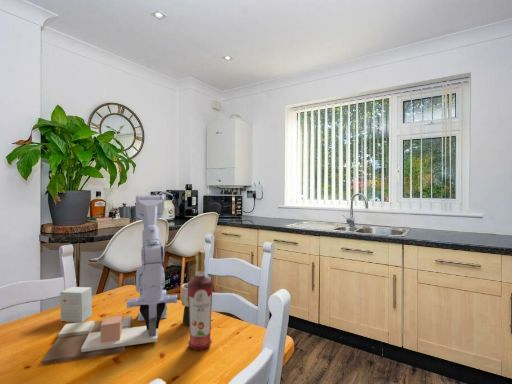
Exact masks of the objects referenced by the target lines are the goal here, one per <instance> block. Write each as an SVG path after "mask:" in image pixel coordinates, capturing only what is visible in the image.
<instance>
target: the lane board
mask: <svg viewBox="0 0 512 384" xmlns="http://www.w3.org/2000/svg"><path fill="white" fill-rule="evenodd" d="M102 321H103V320H99V321H95V320H89V321H83V322H70V323H66V324H64V325H63V327H62V329H60V331H59V333H58V334H57V339H56V340H55V341H54V343H52V344H53V345H51V347H50V349H49V350H48V351H47V353H46V354H45V356H44V357H43V359H42V360H41V365H42V364H43V365H48V364H47V363H50V364H56V363H55V362H57V363H61V362H62V361H63V362H69V361H76V360H83V359H88V358H89V359H90V358H96V357H101V356H107V355H115V354H123V353H125V352H126V351H125V350H126V347H127V346H121V347H114V348H107V349H100V350H93V351H86V352H81V348H82V346H83V344H84V342H85V340H86V338H87V336H88V334H89V333H94V332H101V323H102ZM132 322H133V316H131V315H130V316H122V329H125V328H132V327H131V326H132Z"/></svg>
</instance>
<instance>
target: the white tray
mask: <svg viewBox="0 0 512 384" xmlns="http://www.w3.org/2000/svg"><path fill="white" fill-rule="evenodd" d="M156 320H157V319H156V314H153V315H150V317H149V330H147V327H146V325H141V326H134V327H130V328H125V329H122V334H121V337H120V340H115V341H108V342H101V332H94V333H89V334H88V336H87V338H86V340H85V342H84V344H83V346H82V348H81V352H86V351H93V350H100V349H107V348H114V347H121V346H126V347H127V346H133V345H140V344H147V343H155V342H158V338H159V328H158V329H156Z"/></svg>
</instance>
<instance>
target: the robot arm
mask: <svg viewBox="0 0 512 384" xmlns="http://www.w3.org/2000/svg"><path fill="white" fill-rule="evenodd" d="M164 209H165V197H164V195H163V194H159V195H157V194H155V195H150V194H149V195H144V194H143V195H139V194H137V195H136V196H135V211H136V213H135V215H136V218H137V219H139V220H141V222H142V225H143V229H142V230H141V231H142V232H141V235H142V236H141V237H142V240H141V241H142V248H141V249H140V250H141V252H140V255H141V257H140V260H141V261H140V263H141V265H140V266H139V268H137V269H136V272H135V273H136V275H135V292H137V293H139V297H137V298H136V297H135V298H132V299H127V300H126V309H131V308H136V307H139V312H138V318H137V321H138V322H142V321H144V323H145V326H146V327H147V330H149V317H150V315H153V314H156V329H158V330H159V327H160V321H161V319H167V310H168V304H172V303H173V304H177V303H178V294H167V290H166V289H164V288H165V285H166V280H165V269H164V267H163V264H164V261H165V247H164V245H163V244H164V243H163V241H162V232H161V228H159V227H158V225H157V222H158V220H159V219H161V218H162V217H163V215H164Z"/></svg>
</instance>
